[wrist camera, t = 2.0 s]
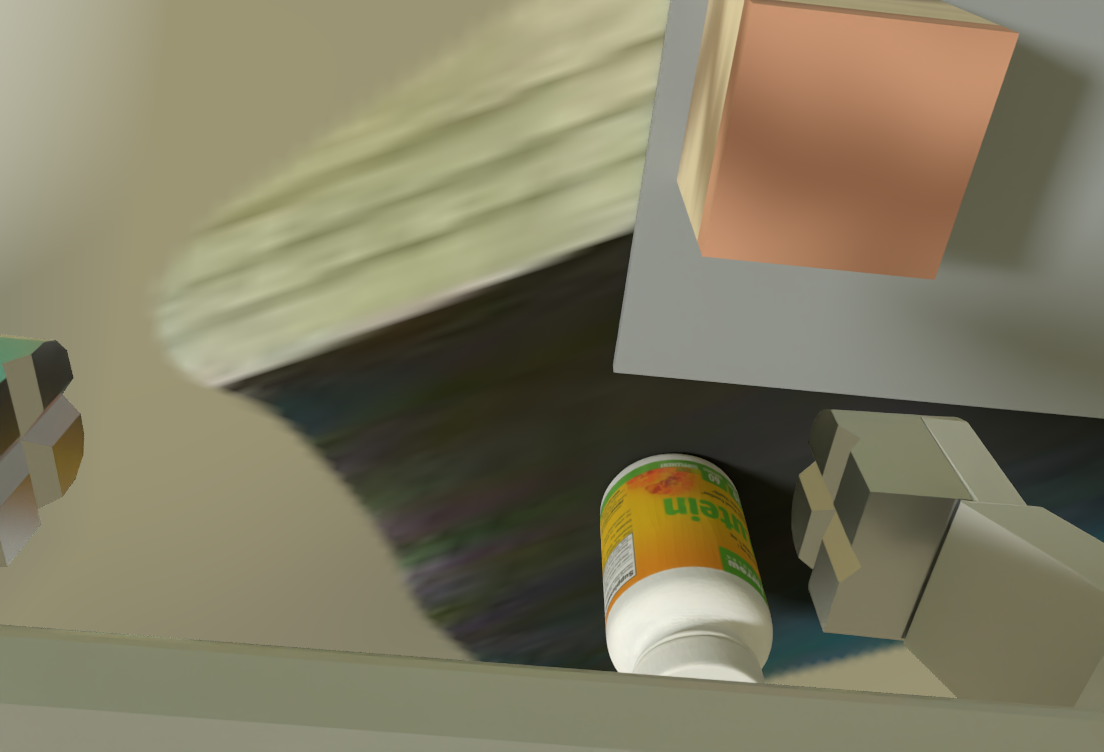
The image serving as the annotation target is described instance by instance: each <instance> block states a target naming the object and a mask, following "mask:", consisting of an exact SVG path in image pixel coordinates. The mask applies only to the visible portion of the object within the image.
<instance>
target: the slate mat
mask: <svg viewBox="0 0 1104 752" xmlns="http://www.w3.org/2000/svg"><path fill="white" fill-rule="evenodd" d="M708 1H709V0H670V6H669V12H668V19H667V25H666V31H665V38H664V44H663V51H662V57H661V63H660V70H659V76H658V82H657V89H656V95H655V101H654V108H653V114H652V120H651V127H650V133H649V140H648V146H647V152H646V159H645V165H644V171H643V178H642V184H641V190H640V197H639V203H638V210H637V216H636V222H635V229H634V235H633V241H632V248H631V254H630V260H629V267H628V273H627V280H626V286H625V292H624V299H623V305H622V311H621V318H620V324H619V330H618V337H617V343H616V350H615V356H614V362H613V370H614V372H616V373H627V374H637V375H648V376H658V377H669V378H680V379H690V380H701V381H711V382H722V383H733V384H743V385H754V386H764V387H775V388H786V389H796V390H807V391H818V392H828V393H839V394H849V395H860V396H871V397H881V398H892V399H902V400H913V401H924V402H934V403H945V404H955V405H966V406H977V407H987V408H998V409H1008V410H1019V411H1030V412H1040V413H1051V414H1062V415H1072V416H1083V417H1093V418H1104V0H940V1H943V2H945V3H948V4H950V5H953V6H955V7H957V8H960V9H962V10H965V11H967V12H969V13H972V14H974V15H977V16H979V17H981V18H984V19H986V20H989V21H991V22H993V23H996V24H998V25H1001V26H1003V27H1006V28H1008V29H1010V30H1013V31H1015V32H1018V33H1019V36H1018V39H1017V42H1016V45H1015V48H1014V51H1013V54H1012V57H1011V60H1010V62H1009V65H1008V68H1007V71H1006V74H1005V77H1004V80H1003V83H1002V86H1001V89H1000V92H999V94H998V97H997V100H996V103H995V106H994V109H993V112H992V115H991V118H990V121H989V123H988V126H987V129H986V132H985V135H984V138H983V141H982V144H981V147H980V150H979V153H978V155H977V158H976V161H975V164H974V167H973V170H972V173H971V176H970V179H969V182H968V184H967V187H966V190H965V193H964V196H963V199H962V202H961V205H960V208H959V211H958V214H957V216H956V219H955V222H954V225H953V228H952V231H951V234H950V237H949V240H948V243H947V245H946V248H945V251H944V254H943V257H942V260H941V263H940V266H939V269H938V272H937V275H936V277H935V280H932V279H922V278H912V277H902V276H892V275H882V274H872V273H862V272H852V271H842V270H832V269H822V268H812V267H802V266H792V265H782V264H772V263H762V262H752V261H742V260H732V259H722V258H712V257H702V254H701V251H700V248H699V245H698V242H697V239H696V236H695V233H694V230H693V228H692V225H691V222H690V219H689V216H688V213H687V210H686V207H685V204H684V201H683V198H682V195H681V192H680V189H679V186H678V183H677V176H678V170H679V164H680V159H681V153H682V147H683V142H684V136H685V131H686V125H687V119H688V114H689V108H690V102H691V97H692V91H693V85H694V80H695V74H696V68H697V63H698V57H699V51H700V46H701V40H702V34H703V29H704V23H705V18H706V12H707V6H708Z"/></svg>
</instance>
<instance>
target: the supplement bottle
mask: <svg viewBox="0 0 1104 752" xmlns="http://www.w3.org/2000/svg"><path fill="white" fill-rule="evenodd" d="M600 529H601V549H602V567H603V586H604V604H605V624H606V638H607V646H608V651H609V654H610V657H611V660H612V662H613V664H614V666H615V668H616V669H617V671H618V672H621V673H634V674H647V675H660V676H673V677H686V678H699V679H712V680H725V681H738V682H751V683H764V678H763V674H762V670H761V669H762V668H763V666H764V664H765V662H766V661H767V658H768V656H769V653H770V650H771V646H772V637H773V629H772V622H771V616H770V611H769V607H768V604H767V600H766V596H765V593H764V589H763V586H762V582H761V578H760V575H759V571H758V567H757V563H756V560H755V556H754V552H753V548H752V545H751V541H750V537H749V533H748V529H747V525H746V521H745V517H744V513H743V509H742V506H741V502H740V499H739V496H738V493H737V490H736V488H735V486H734V484H733V483H732V481H731V480H730V478H729V477H728V476H727V475H726V474H725V473H724V472H723V471H722V470H721V469H720V468H718V467H717V466H715V465H714V464H712V463H711V462H709V461H707V460H704V459H702V458H699V457H695V456H691V455H686V454H675V453H674V454H660V455H655V456H651V457H647V458H644V459H642V460H639V461H637V462H635V463H633V464H631V465H630V466H628V467H627V468H625V469H624V470H623V471H621V472H620V473H619V474H618V475H617V476H616V477H615V478H614V480H613V481H612V482H611V483H610V485H609V486H608V488H607V490H606V492H605V494H604V496H603V499H602V503H601V511H600ZM764 684H765V683H764Z"/></svg>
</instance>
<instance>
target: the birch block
mask: <svg viewBox="0 0 1104 752" xmlns="http://www.w3.org/2000/svg"><path fill="white" fill-rule="evenodd" d="M1018 36H1019V33H1018V32H1015V31H1013V30H1010V29H1008V28H1006V27H1003V26H1001V25H998V24H996V23H993V22H991V21H989V20H986V19H984V18H981V17H979V16H977V15H974V14H972V13H969V12H967V11H965V10H962V9H960V8H957V7H955V6H953V5H950V4H948V3H945V2H943V1H940V0H709V1H708V6H707V12H706V18H705V23H704V29H703V34H702V40H701V46H700V51H699V57H698V63H697V68H696V74H695V80H694V85H693V91H692V97H691V102H690V108H689V114H688V119H687V125H686V131H685V136H684V142H683V147H682V153H681V159H680V164H679V170H678V176H677V183H678V186H679V189H680V192H681V195H682V198H683V201H684V204H685V207H686V210H687V213H688V216H689V219H690V222H691V225H692V228H693V230H694V233H695V236H696V239H697V242H698V245H699V248H700V251H701V254H702V257H712V258H722V259H732V260H742V261H752V262H762V263H772V264H782V265H792V266H802V267H812V268H822V269H832V270H842V271H852V272H862V273H872V274H882V275H892V276H902V277H912V278H922V279H932V280H935V277H936V275H937V272H938V269H939V266H940V263H941V260H942V257H943V254H944V251H945V248H946V245H947V243H948V240H949V237H950V234H951V231H952V228H953V225H954V222H955V219H956V216H957V214H958V211H959V208H960V205H961V202H962V199H963V196H964V193H965V190H966V187H967V184H968V182H969V179H970V176H971V173H972V170H973V167H974V164H975V161H976V158H977V155H978V153H979V150H980V147H981V144H982V141H983V138H984V135H985V132H986V129H987V126H988V123H989V121H990V118H991V115H992V112H993V109H994V106H995V103H996V100H997V97H998V94H999V92H1000V89H1001V86H1002V83H1003V80H1004V77H1005V74H1006V71H1007V68H1008V65H1009V62H1010V60H1011V57H1012V54H1013V51H1014V48H1015V45H1016V42H1017V39H1018Z"/></svg>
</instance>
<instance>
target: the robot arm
mask: <svg viewBox="0 0 1104 752" xmlns="http://www.w3.org/2000/svg"><path fill="white" fill-rule="evenodd" d="M72 379H73V374H72V370H71V366H70V362H69V358H68V353H67V350H66V349H65V348H64V347H62V346H61V345H60V344H59V343H58V342H57V341H56V340H49V339H38V338H29V337H20V336H11V335H1V334H0V567H8V565H9V564H10V563H11V562H12V560H13V559H14V558H15V557H16V555H17V554H18V553H19V552H20V550H21V549H22V548H23V546H24V545H25V544H26V543H27V541H28V540H29V539H30V537H31V536H32V535H33V534H34V532H35V531H36V530H37V529H38V527H39V526H40V525H41V522H40V517H39V513H38V508H40V507H43V506H45V505H47V504H49V503H51V502H53V501H55V500H57V499H59V498H61V497H63V495H64V494H65V493H66V491H67V490H68V489H69V487H70V486H71V484H72V483H73V482H74V480H75V479H76V475H77V472H78V469H79V466H80V463H81V460H82V457H83V446H84V431H83V425H82V420H81V414H80V413H79V412H78V411H77V409H76V408H75V407H74V406H73V405H72V404H71V403H70V402H69V401H68V400H67V399H66V398H65V397H64V396H63V395H62V394H63V393H64V391H65V390H66V388H67V387H68V385H69V384H70V382H71V381H72ZM808 443H809V445H810V448H811V450H812V453H813V455H814V458H815V460H816V461H815V462H814V463H813V464H812V465H810V466H809V467H808V468H807V469H806V470H804V471H803V472H802V473H801V474H800V475H799V476H798V480H797V484H796V488H795V492H794V496H793V502H792V518H791V527H792V535H793V542H794V545H795V548H796V552H797V555H798V558H799V559H801V560H802V561H803V562H804V563H806V564H807V565H808V566H809V567H810V568H812V569H813V571H812V574H811V578H810V581H809V584H808V588H809V591H810V594H811V597H812V600H813V603H814V606H815V609H816V612H817V615H818V618H819V621H820V624H821V627H822V630H823V632H828V633H838V634H847V635H857V636H866V637H875V638H885V639H894V640H904V643H903V644H904V645H905V646H906V647H907V648H908V649H909V650H910V651H911V652H912V653H913V654H914V655H915V656H916V657H917V658H918V659H919V660H920V661H921V662H922V663H923V664H924V665H925V666H926V667H927V668H928V669H929V670H930V671H931V672H932V673H933V674H934V675H935V676H936V677H937V678H938V679H939V680H940V681H941V682H942V683H943V684H944V685H945V686H946V687H947V688H948V689H949V690H950V691H951V692H952V693H953V694H954V695H955V696H956V697H957V698H945V697H932V696H919V695H906V694H893V693H881V692H868V691H855V690H842V689H829V688H828V689H827V688H816V687H803V686H790V685H777V684H764V683H751V682H738V681H725V680H712V679H699V678H686V677H673V676H660V675H647V674H634V673H621V672H608V671H595V670H582V669H569V668H556V667H543V666H530V665H517V664H504V663H491V662H478V661H465V660H452V659H439V658H426V657H413V656H401V655H388V654H374V653H362V652H349V651H336V650H323V649H310V648H297V647H284V646H271V645H258V644H246V643H233V642H219V641H206V640H194V639H180V638H167V637H155V636H142V635H129V634H117V633H104V632H91V631H90V632H89V631H78V630H65V629H52V628H39V627H26V626H12V625H0V752H1104V543H1103V542H1101V541H1100V540H1098V539H1096V538H1094V537H1093V536H1091V535H1089V534H1087V533H1086V532H1084V531H1082V530H1080V529H1079V528H1077V527H1075V526H1074V525H1072V524H1070V523H1068V522H1067V521H1065V520H1063V519H1061V518H1060V517H1058V516H1056V515H1055V514H1053V513H1051V512H1049V511H1048V510H1046V509H1044V508H1042V507H1035V506H1027V505H1026V504H1025V502H1024V501H1023V499H1022V498H1021V497H1020V495H1019V494H1018V492H1017V491H1016V490H1015V488H1014V487H1013V485H1012V484H1011V483H1010V481H1009V480H1008V478H1007V477H1006V476H1005V474H1004V473H1003V471H1002V470H1001V469H1000V467H999V466H998V464H997V463H996V462H995V460H994V459H993V457H992V456H991V455H990V453H989V452H988V450H987V449H986V448H985V446H984V445H983V443H982V442H981V441H980V439H979V438H978V436H977V435H976V434H975V432H974V431H973V429H972V428H971V427H970V425H969V424H968V422H966V421H964V420H962V419H960V418H958V417H942V416H920V415H909V414H893V413H877V412H862V411H846V410H821V411H820V413H819V415H818V416H817V418H816V420H815V422H814V424H813V428H812V431H811V434H810V438H809V441H808Z"/></svg>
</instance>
